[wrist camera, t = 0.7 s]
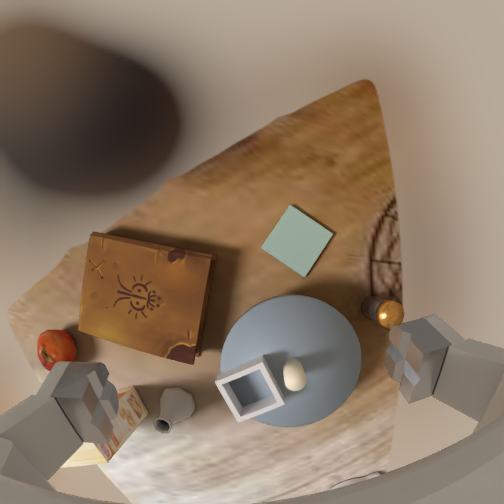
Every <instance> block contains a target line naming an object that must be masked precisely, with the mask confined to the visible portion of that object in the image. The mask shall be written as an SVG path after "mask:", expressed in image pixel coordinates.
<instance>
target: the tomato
mask: <svg viewBox="0 0 504 504" xmlns="http://www.w3.org/2000/svg"><path fill="white" fill-rule="evenodd" d="M38 357H39V359H40V361H41V363H42V365H43V366H44V367H45V369H47V370H49V371H51V369H52V368H53V366H54V365H55V363H57V362H59V361H64V362H74V360H75V358H76V347H75V343H74V340H73V339H72V337H71V336H70V335H69V334H68V333H67V332H65V331H62V330H47V331H45V332H43V333H42V334H40V336H39V338H38Z"/></svg>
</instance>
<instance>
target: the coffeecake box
mask: <svg viewBox="0 0 504 504" xmlns="http://www.w3.org/2000/svg"><path fill="white" fill-rule="evenodd" d="M117 394H118V398H119V410H118V413H117V416H116V417H115V418H114V419H112V420H111V423H112V425H113V431H112V434H111V438H110V441H109V444H100V443H86V442H83V445H82V446H81V447H80V448H79V449H78V450H77V451H76V452H75V453H74V454H73V455H72V456H71V457H70V458H69V459H68V460H67V461H66V462H65V463H64V464H63V465H62V466H61V467H60V468H62V467H75V466H84V465H93V464H101V463H108V462H109V460H110V459H111V458H112V457H113V455H114V454H115V453H116V452H117V451H118V450H119V448H120V447H121V446H122V445H123V444H124V443H125V441H126V440H127V439H128V438H129V437H130V435H131V434H132V433H133V432H134V431H135V429H136V428H137V427H138V426H139V425H140V423H141V422H142V421H143V420H144V419H145V417H146V416H147V415H148V414H149V413H148V411H147V410H146V408H145V406H144V405H143V403H142V401H141V399H140V397H139V395H138V393H137V391H136V390H135V388H134V386H130V387H127V388H124V389H121V390H118V391H117Z"/></svg>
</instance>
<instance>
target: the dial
mask: <svg viewBox="0 0 504 504" xmlns="http://www.w3.org/2000/svg"><path fill="white" fill-rule="evenodd" d="M361 362H362V356H361V347H360V343H359V340H358V337H357V334H356V332H355V330H354V329H353V327H352V325H351V324H350V323H349V321H348V320H347V319H346V318H345V317H344V316H343V315H342V314H341V313H340V312H339V311H337V310H336V309H335V308H333V307H332V306H330V305H329V304H327V303H325V302H323V301H321V300H319V299H316V298H313V297H309V296H305V295H281V296H276V297H272V298H269V299H267V300H264V301H262V302H260V303H258V304H256V305H254V306H253V307H251V308H250V309H249V310H247V311H246V312H245V313H244V314H243V315H242V316H241V317H240V318H239V319H238V320H237V322H236V323H235V324H234V326H233V327H232V329H231V331H230V332H229V334H228V336H227V338H226V341H225V343H224V346H223V350H222V354H221V373H219V374H218V376H217V378H216V380H215V383H216V385H217V387H218V389H219V391H220V392H221V394H222V396H223V398H224V399H225V401H226V403H227V405H228V406H229V408H230V410H231V411H232V413H233V415H234V416H235V418H236V420H237V421H238V422H241V421H244V420H247V419H249V418H253V419H255V420H257V421H259V422H262V423H265V424H268V425H272V426H277V427H298V426H304V425H308V424H312V423H314V422H317V421H320V420H321V419H323V418H325V417H327V416H329V415H330V414H332V413H333V412H335V411H336V410H337V409H338V408H339V407H340V406H341V405H342V404H343V403H344V402H345V401H346V400H347V399H348V397H349V396H350V394H351V393H352V391H353V389H354V387H355V386H356V383H357V381H358V378H359V374H360V370H361Z"/></svg>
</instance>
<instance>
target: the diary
mask: <svg viewBox="0 0 504 504" xmlns="http://www.w3.org/2000/svg"><path fill="white" fill-rule="evenodd" d="M215 262H216V255H212V254H207V253H201V252H196V251H191V250H186V249H181V248H175V247H170V246H165V245H160V244H155V243H150V242H145V241H140V240H134V239H129V238H124V237H119V236H114V235H109V234H104V233H99V232H93V233H92V234H91V235H90V239H89V245H88V251H87V257H86V263H85V270H84V278H83V286H82V294H81V304H80V315H79V328H78V330H79V331H81V332H84V333H87V334H90V335H93V336H96V337H99V338H101V339H104V340H107V341H110V342H113V343H117V344H120V345H123V346H126V347H129V348H133V349H136V350H139V351H143V352H146V353H150V354H153V355H157V356H160V357H164V358H168V359H171V360H175V361H179V362H183V363H187V364H191V365H193V364H194V360H195V356H196V357H199V354H200V348H201V342H202V336H203V330H204V324H205V318H206V312H207V306H208V301H209V295H210V289H211V284H212V278H213V273H214V267H215Z"/></svg>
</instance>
